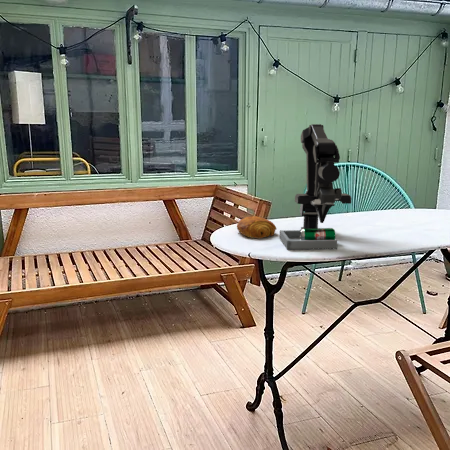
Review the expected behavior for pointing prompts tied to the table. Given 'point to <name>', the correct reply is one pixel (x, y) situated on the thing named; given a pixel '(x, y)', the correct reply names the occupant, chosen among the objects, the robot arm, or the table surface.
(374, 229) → the table surface
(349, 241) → the table surface
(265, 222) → the croissant
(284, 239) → the tray
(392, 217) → the table surface
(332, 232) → the soda can
